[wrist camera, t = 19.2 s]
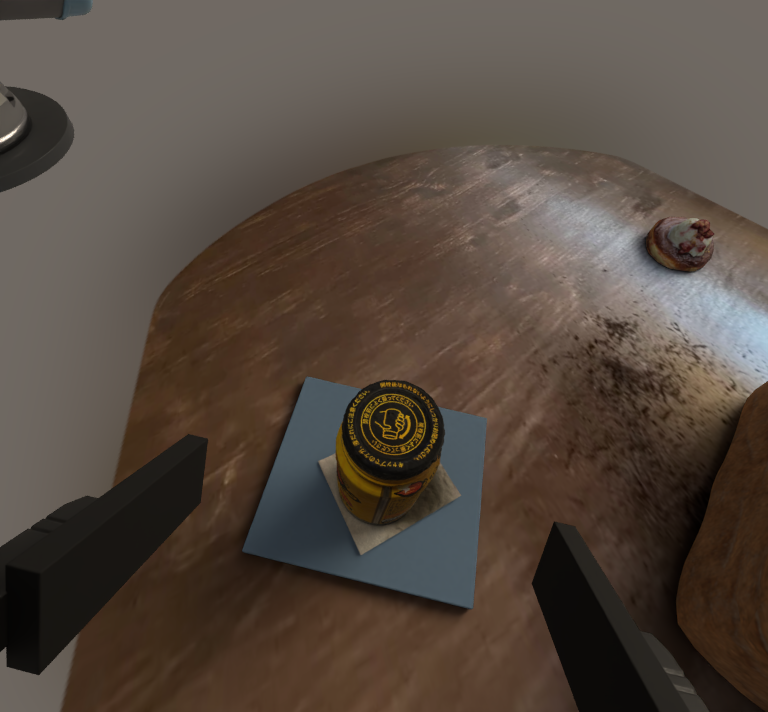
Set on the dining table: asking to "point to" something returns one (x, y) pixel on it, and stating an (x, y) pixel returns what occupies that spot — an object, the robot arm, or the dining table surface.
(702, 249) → the pastry
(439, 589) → the sauce mat
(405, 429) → the condiment
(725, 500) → the bread
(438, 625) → the dining table surface
